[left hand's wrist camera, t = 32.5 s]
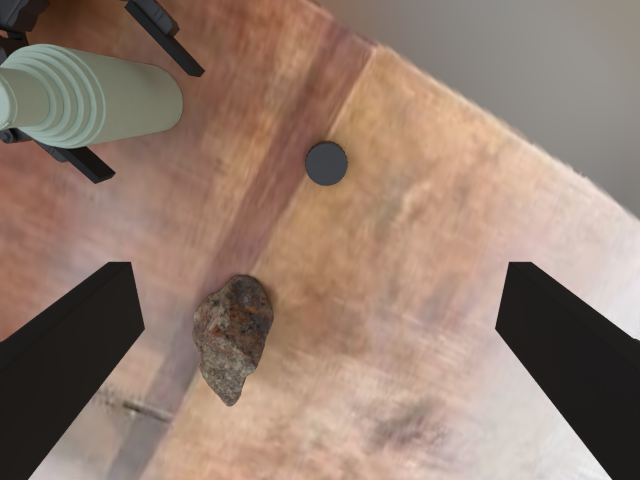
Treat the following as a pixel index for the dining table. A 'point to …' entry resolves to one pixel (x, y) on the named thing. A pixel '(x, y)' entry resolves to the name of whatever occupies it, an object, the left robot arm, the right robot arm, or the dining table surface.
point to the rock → (232, 335)
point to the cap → (326, 163)
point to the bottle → (84, 96)
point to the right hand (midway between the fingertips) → (149, 128)
